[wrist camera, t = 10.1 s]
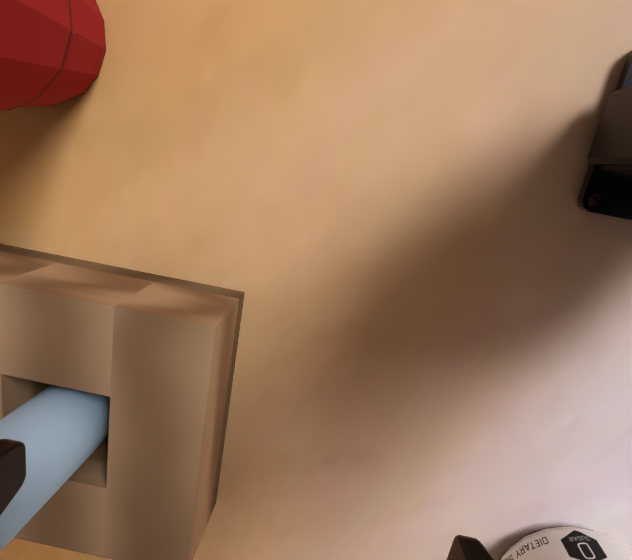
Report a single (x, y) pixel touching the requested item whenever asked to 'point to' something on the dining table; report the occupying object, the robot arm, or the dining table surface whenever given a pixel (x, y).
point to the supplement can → (568, 546)
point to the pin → (51, 446)
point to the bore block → (124, 396)
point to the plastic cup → (48, 50)
